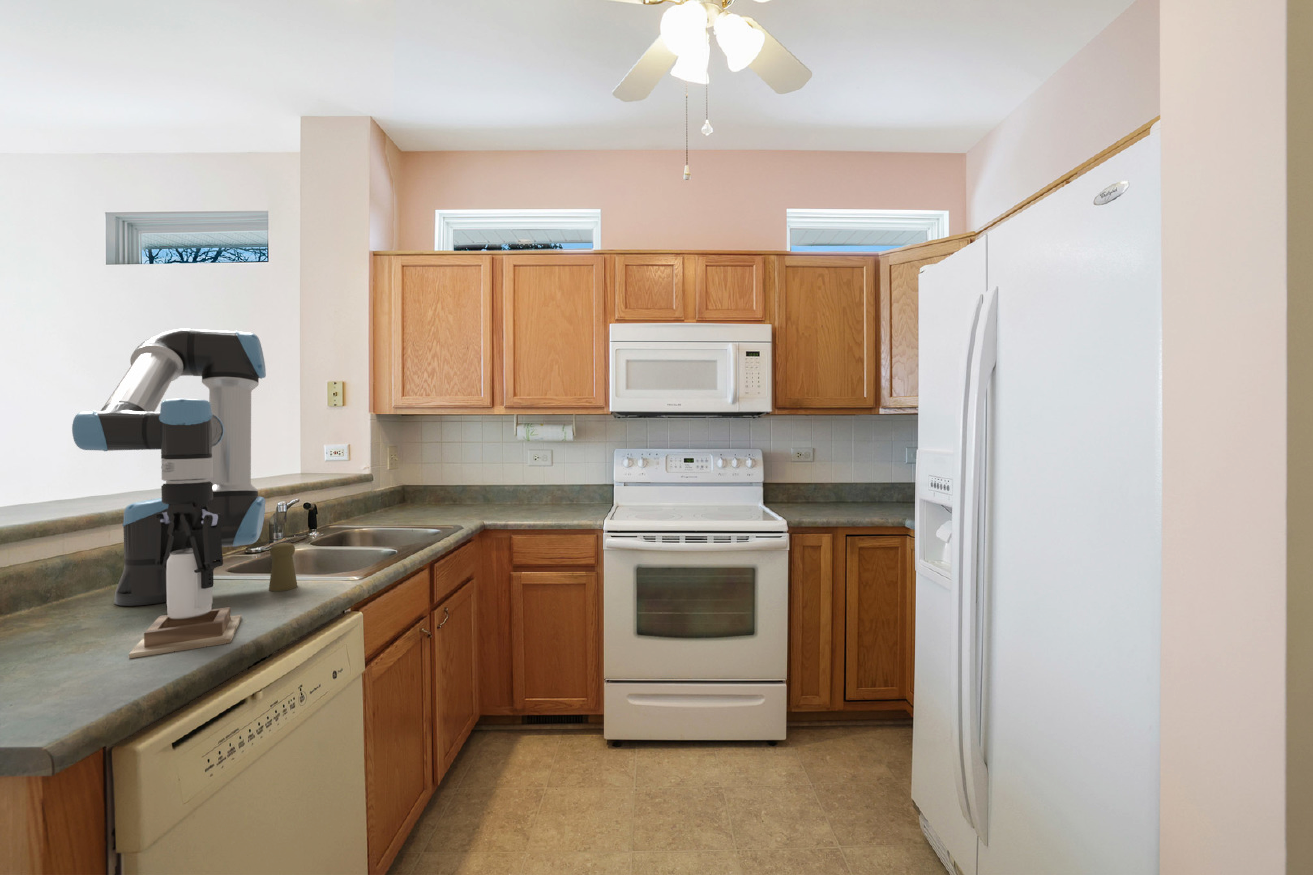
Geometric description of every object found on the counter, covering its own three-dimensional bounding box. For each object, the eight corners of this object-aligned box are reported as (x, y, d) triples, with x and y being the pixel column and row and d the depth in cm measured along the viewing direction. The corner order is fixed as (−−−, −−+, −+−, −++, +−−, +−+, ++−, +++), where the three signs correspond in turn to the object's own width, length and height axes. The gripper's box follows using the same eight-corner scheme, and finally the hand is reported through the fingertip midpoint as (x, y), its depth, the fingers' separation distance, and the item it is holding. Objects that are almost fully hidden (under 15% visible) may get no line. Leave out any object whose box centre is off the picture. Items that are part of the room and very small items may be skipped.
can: (186, 620, 106) (185, 554, 105) (158, 619, 107) (156, 553, 107) (220, 610, 112) (219, 547, 112) (192, 608, 113) (191, 546, 113)
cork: (276, 585, 147) (276, 541, 146) (302, 584, 147) (301, 540, 147) (263, 591, 140) (262, 546, 140) (289, 590, 141) (289, 545, 141)
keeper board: (153, 630, 113) (152, 613, 113) (241, 618, 120) (241, 602, 120) (128, 658, 99) (128, 639, 99) (230, 642, 106) (229, 624, 106)
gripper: (127, 482, 108) (129, 606, 108) (206, 483, 103) (208, 613, 103) (170, 479, 115) (172, 595, 116) (246, 480, 110) (248, 601, 110)
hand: (189, 603), depth 109 cm, fingers closed on can, 6 cm apart
